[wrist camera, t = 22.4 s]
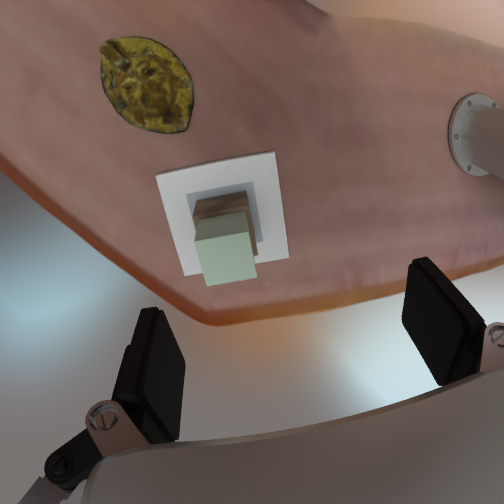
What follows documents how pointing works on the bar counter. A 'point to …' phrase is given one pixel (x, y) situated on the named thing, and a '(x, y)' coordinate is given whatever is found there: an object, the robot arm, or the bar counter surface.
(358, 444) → the robot arm
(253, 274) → the sage cube
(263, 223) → the board
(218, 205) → the walnut block
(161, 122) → the olive brown ornament
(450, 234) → the bar counter surface
